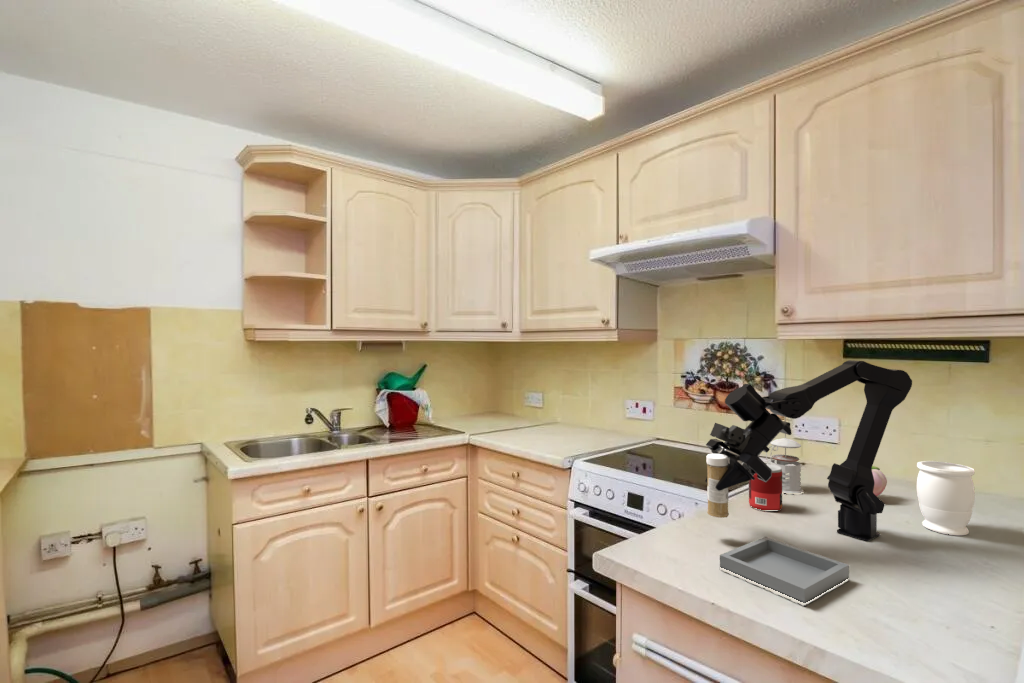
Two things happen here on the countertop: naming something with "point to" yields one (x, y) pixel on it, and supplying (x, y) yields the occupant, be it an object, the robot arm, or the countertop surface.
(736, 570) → the box
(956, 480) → the jar
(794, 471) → the french press
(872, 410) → the robot arm
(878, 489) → the decorative fruit
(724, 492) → the sprinkles bottle
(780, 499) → the canned food
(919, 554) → the countertop surface
